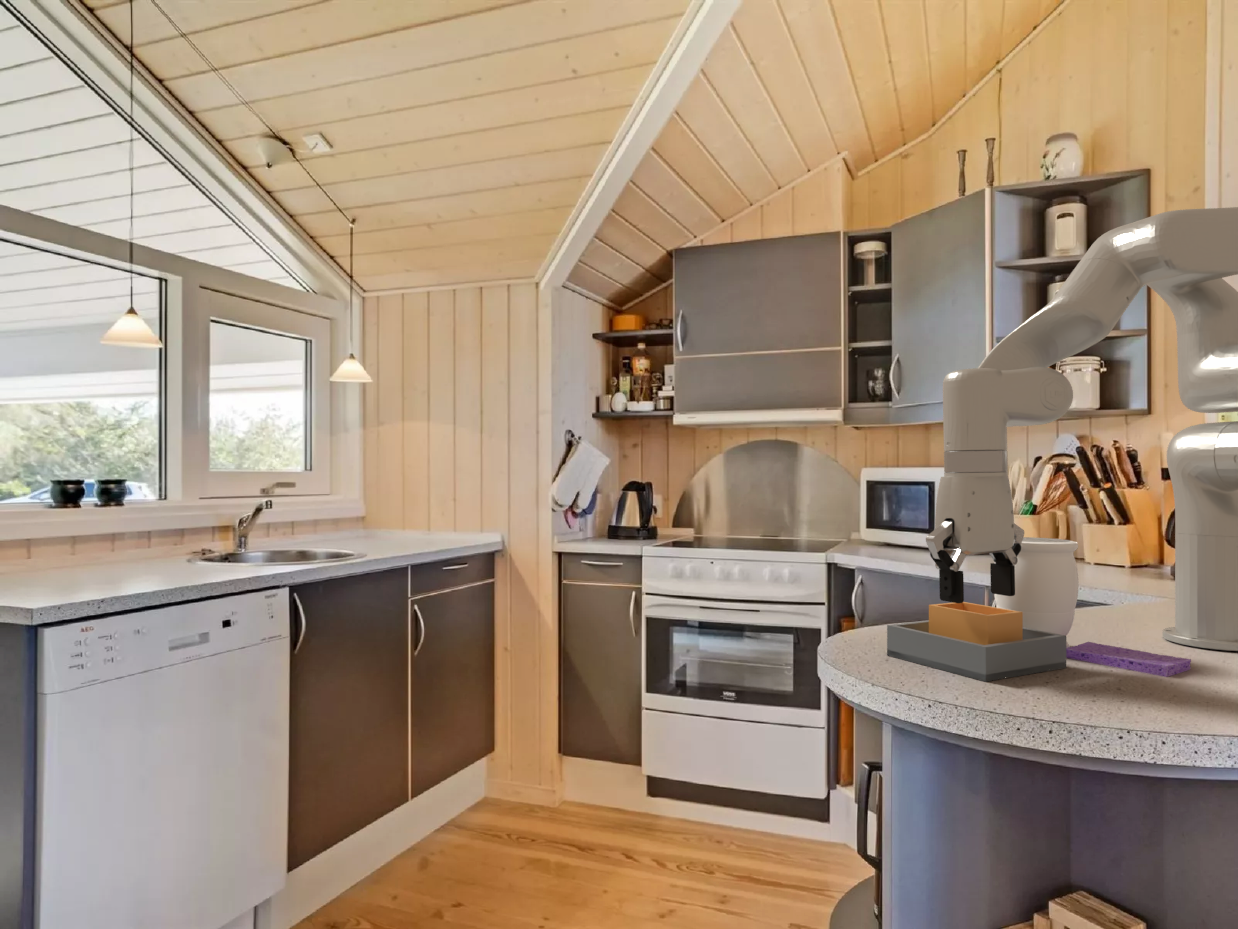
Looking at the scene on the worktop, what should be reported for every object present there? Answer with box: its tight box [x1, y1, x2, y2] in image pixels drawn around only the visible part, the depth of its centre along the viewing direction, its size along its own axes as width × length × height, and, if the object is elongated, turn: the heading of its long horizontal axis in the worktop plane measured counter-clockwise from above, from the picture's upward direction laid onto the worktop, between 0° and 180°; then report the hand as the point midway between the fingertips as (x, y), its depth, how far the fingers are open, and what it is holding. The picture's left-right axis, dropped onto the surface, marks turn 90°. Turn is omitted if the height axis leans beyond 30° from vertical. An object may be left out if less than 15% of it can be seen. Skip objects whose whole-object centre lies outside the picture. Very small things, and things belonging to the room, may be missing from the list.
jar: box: [993, 536, 1080, 648], centre depth 112 cm, size 11×10×15 cm
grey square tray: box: [886, 619, 1067, 682], centre depth 104 cm, size 15×15×4 cm
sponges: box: [1066, 641, 1192, 678], centre depth 103 cm, size 7×13×2 cm, turn 34°
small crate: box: [928, 601, 1023, 645], centre depth 104 cm, size 6×9×6 cm
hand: (977, 598), depth 104 cm, fingers open, 9 cm apart
